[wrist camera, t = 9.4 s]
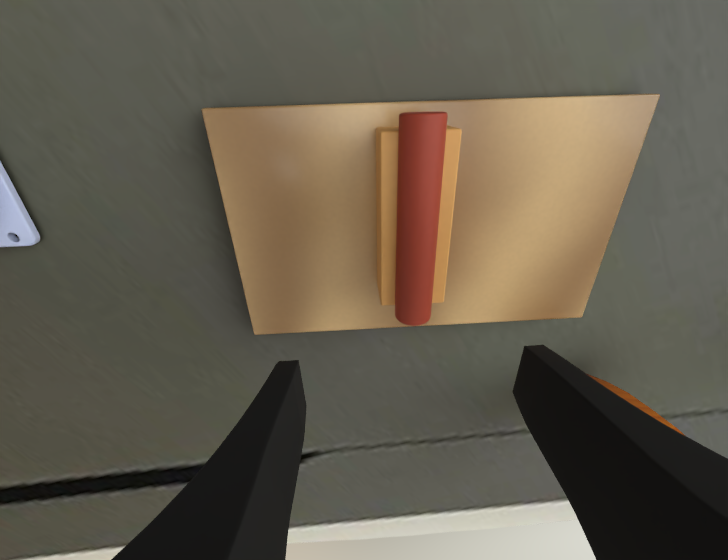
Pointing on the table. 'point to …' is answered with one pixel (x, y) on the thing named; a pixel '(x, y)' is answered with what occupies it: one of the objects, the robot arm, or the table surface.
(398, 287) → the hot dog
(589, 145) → the oak board
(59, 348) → the table surface
